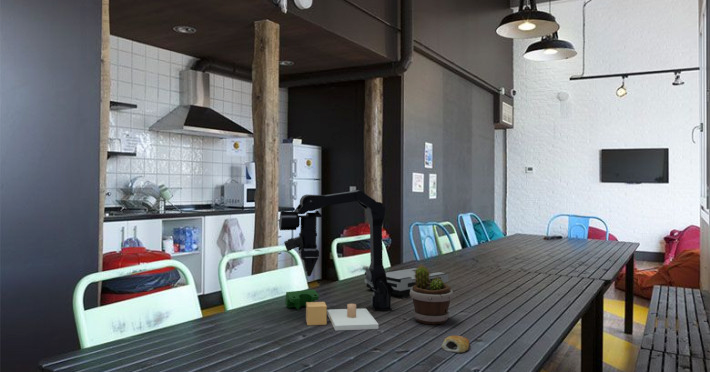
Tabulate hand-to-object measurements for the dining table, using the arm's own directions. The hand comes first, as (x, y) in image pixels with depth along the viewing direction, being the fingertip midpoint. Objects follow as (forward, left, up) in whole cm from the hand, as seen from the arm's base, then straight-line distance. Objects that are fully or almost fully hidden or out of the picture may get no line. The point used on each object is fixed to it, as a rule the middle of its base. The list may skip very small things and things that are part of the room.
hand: (307, 273), depth 177 cm
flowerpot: (-41, +15, -14) cm, 46 cm away
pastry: (-39, +43, -14) cm, 60 cm away
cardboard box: (-2, +12, -14) cm, 19 cm away
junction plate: (-14, +12, -14) cm, 23 cm away
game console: (-47, -34, -15) cm, 60 cm away
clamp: (+1, -8, -14) cm, 16 cm away
